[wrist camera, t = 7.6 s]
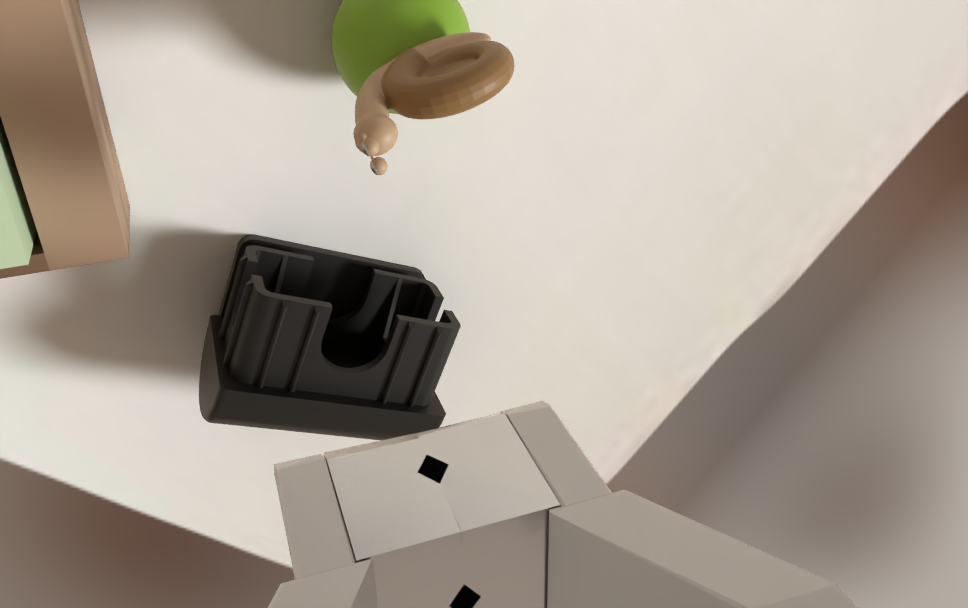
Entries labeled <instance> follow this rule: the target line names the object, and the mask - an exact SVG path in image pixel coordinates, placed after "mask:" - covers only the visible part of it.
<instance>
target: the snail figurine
mask: <svg viewBox="0 0 968 608" xmlns="http://www.w3.org/2000/svg"><path fill="white" fill-rule="evenodd" d="M490 40H491V38H490V36H488V35H487V34H483V33H475V32H470V29H469V25H468V21H467V18H466V16H465V13H464V11H463V9H462V7H461V5H460V4H459V2H458V1H457V0H343V1H342V2H341V4H340V6H339V8H338V10H337V13H336V15H335V18H334V22H333V27H332V37H331V42H332V52H333V57H334V61H335V64H336V67H337V69H338V71H339V74H340V76H341V77H342V79H343V81H344V82H345V84H346V85H347V86H348V88H349V89H350V90H351V91H352V92H353V93H354V94H355V95H356V96H357V100H356V106H355V122H356V127H355V129H354V139H355V143H356V146H357V148H358V149H359V150H360V151H361V152H363V153H364V154H366V155H367V156H371V159H372V161H371V162H370V167H371V169H372V171H373V172H374V173H375V174H376V175H382V174H384V173H385V172H386V170H387V163H386V161H385V160H384V159H383V158H380V157H376V158H373V156H377V155H382V154H384V153H386V152H388V151H389V150H390V149H391V148H392V147H393V146H394V144H395V142H396V140H397V135H398V132H397V127H396V125H395V123H394V122H393V121H392V120H391V119H390V118H389V113H394V114H400V115H402V116H405V117H408V118H413V119H435V118H442V117H447V116H451V115H455V114H458V113H461V112H464V111H467V110H469V109H472V108H474V107H476V106H478V105H480V104H482V103H484V102H486V101H487V100H489V99H491V98H492V97H494V96H495V95H496V94H497V93H499V92H500V91H501V90H502V89H503V88H504V87H505V86H506V85H507V84H508V82H509V81H510V79H511V77H512V74H513V71H514V59H513V56H512V54H511V52H510V51H509V49H508V48H506V47H505V46H504V45H502V44H501V43H498V42H494V41H490Z"/></svg>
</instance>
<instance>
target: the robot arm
mask: <svg viewBox="0 0 968 608" xmlns="http://www.w3.org/2000/svg"><path fill="white" fill-rule="evenodd" d="M274 475H275V480H276V485H277V490H278V495H279V500H280V505H281V510H282V515H283V520H284V526H285V531H286V536H287V541H288V546H289V551H290V556H291V561H292V566H293V571H294V576H295V580H292V581H289V582H285V583H282V584H281V585H280V586H279V588H278V590H277V592H276V594H275V596H274V597H273V599H272V601H271V603H270V605H269V606H268V608H858V607H857V606H856V605H855V604H854V603H853V602H852V601H851V600H850V598H848V596H847V595H846V594H845V593H844V592H843V591H842V590H841V588H840V587H839V586H838V585H837V584H834V583H832V582H830V581H828V580H825V579H823V578H821V577H819V576H816V575H814V574H812V573H809V572H807V571H805V570H803V569H801V568H799V567H796V566H794V565H791V564H789V563H787V562H785V561H783V560H781V559H778V558H776V557H774V556H772V555H769V554H767V553H765V552H763V551H760V550H758V549H756V548H754V547H752V546H749V545H747V544H745V543H743V542H740V541H738V540H736V539H734V538H731V537H729V536H727V535H725V534H722V533H720V532H718V531H716V530H713V529H711V528H709V527H707V526H705V525H702V524H700V523H698V522H696V521H693V520H691V519H689V518H687V517H684V516H682V515H680V514H678V513H676V512H673V511H671V510H669V509H666V508H664V507H662V506H660V505H658V504H655V503H653V502H651V501H649V500H646V499H644V498H642V497H640V496H638V495H635V494H633V493H631V492H629V491H626V490H621V491H617V492H614V493H612V492H611V491H610V489H609V488H608V487H607V485H606V484H605V482H604V481H603V480H602V478H601V477H600V475H599V474H598V472H597V471H596V470H595V468H594V467H593V465H592V464H591V462H590V461H589V460H588V458H587V457H586V455H585V454H584V453H583V451H582V450H581V448H580V447H579V445H578V444H577V443H576V441H575V440H574V438H573V437H572V435H571V434H570V433H569V431H568V430H567V428H566V427H565V426H564V424H563V423H562V421H561V420H560V418H559V417H558V416H557V414H556V413H555V411H554V410H553V408H552V407H551V406H550V404H548V403H546V402H544V401H540V402H536V403H532V404H528V405H524V406H520V407H517V408H513V409H509V410H505V411H501V412H500V414H494V415H490V416H486V417H482V418H477V419H473V420H469V421H465V422H461V423H457V424H453V425H449V426H445V427H440V428H436V429H432V430H428V431H424V432H420V433H416V434H415V433H414V434H410V435H405V436H400V437H396V438H391V439H386V440H381V441H377V442H372V443H367V444H363V445H358V446H353V447H349V448H344V449H339V450H335V451H330V452H325V453H324V457H323V456H322V455H321V454H319V455H314V456H310V457H305V458H301V459H296V460H291V461H287V462H282V463H278V464H274Z"/></svg>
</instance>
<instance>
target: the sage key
mask: <svg viewBox="0 0 968 608" xmlns="http://www.w3.org/2000/svg"><path fill="white" fill-rule="evenodd" d="M36 232H37V229H36V226H35V223H34V220H33V216H32V213H31V210H30V207H29V204H28V201H27V198H26V194H25V191H24V188H23V185H22V182H21V179H20V176H19V173H18V169H17V166H16V163H15V160H14V157H13V154H12V151H11V147H10V144H9V141H8V138H7V135H6V132H5V129H4V125H3V122H2V119H1V116H0V269H4V268H11V267H17V266H23V265H28V264H29V260H30V256H31V252H32V248H33V244H34V240H35V236H36Z"/></svg>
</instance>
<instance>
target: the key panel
mask: <svg viewBox="0 0 968 608" xmlns="http://www.w3.org/2000/svg"><path fill="white" fill-rule="evenodd" d="M0 116H1V119H2V122H3V125H4V129H5V132H6V135H7V138H8V141H9V144H10V147H11V151H12V154H13V157H14V160H15V163H16V166H17V169H18V173H19V176H20V179H21V182H22V185H23V188H24V191H25V194H26V198H27V201H28V204H29V207H30V210H31V213H32V216H33V220H34V223H35V226H36V229H37V232H36V236H35V240H34V244H33V248H32V252H31V256H30V260H29V264H28V265H23V266H17V267H11V268H4V269H0V279H1V278H7V277H13V276H19V275H25V274H31V273H38V272H44V271H50V270H56V269H62V268H68V267H75V266H81V265H87V264H93V263H99V262H105V261H112V260H118V259H124V258H129V221H130V205H129V201H128V197H127V193H126V189H125V185H124V181H123V177H122V174H121V170H120V166H119V162H118V158H117V154H116V150H115V146H114V142H113V138H112V134H111V130H110V126H109V122H108V118H107V114H106V111H105V107H104V103H103V99H102V95H101V91H100V87H99V83H98V79H97V75H96V71H95V67H94V63H93V59H92V55H91V51H90V48H89V44H88V40H87V36H86V32H85V28H84V24H83V20H82V16H81V12H80V8H79V4H78V0H0Z"/></svg>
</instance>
